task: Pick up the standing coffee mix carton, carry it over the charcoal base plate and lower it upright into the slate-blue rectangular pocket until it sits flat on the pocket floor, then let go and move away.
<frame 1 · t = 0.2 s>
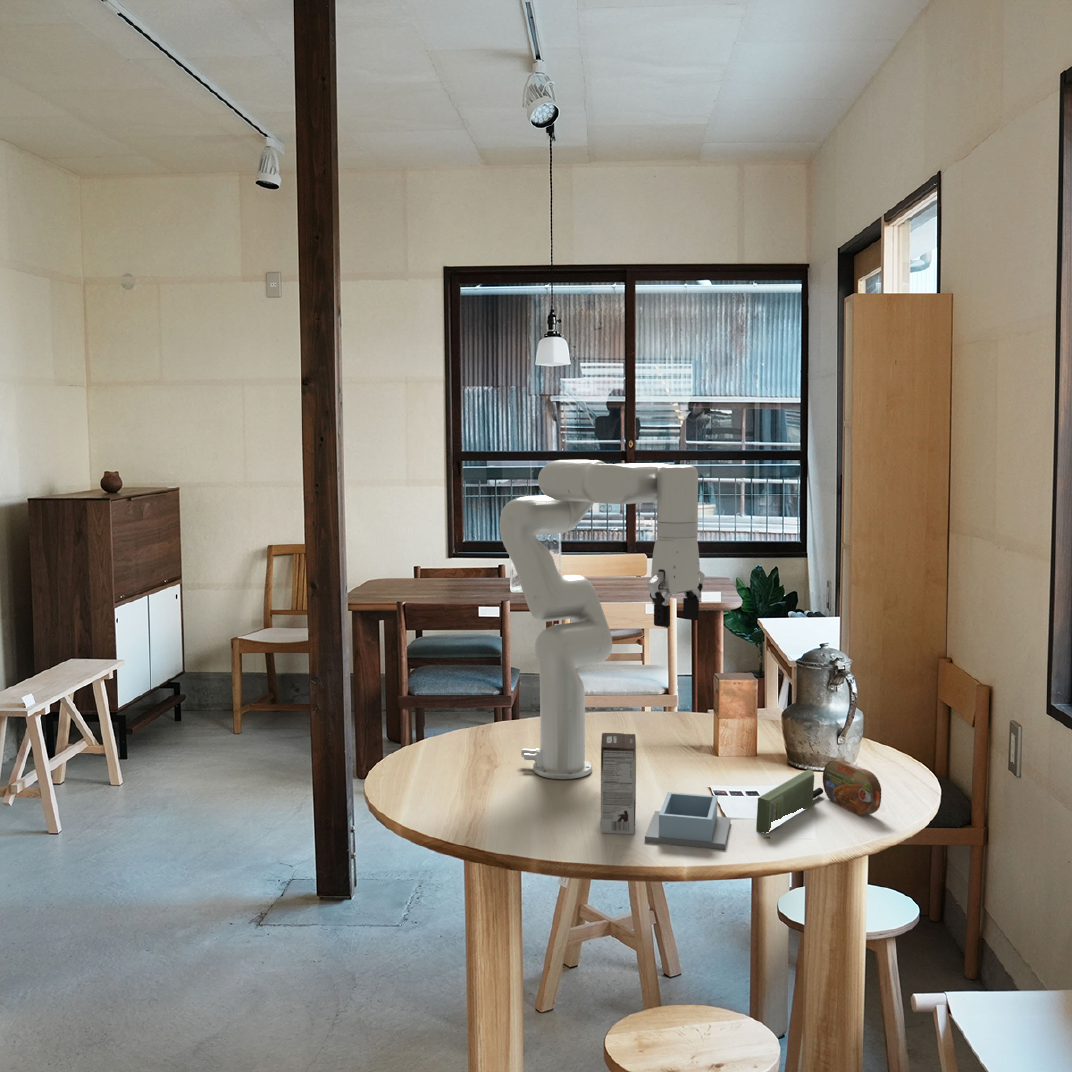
hand: (676, 622, 195), 37 cm above the table, tool pointing down, fingers open, 9 cm apart
coffee box: (618, 825, 193), on the table
tin: (851, 808, 201), on the table
chassis: (688, 832, 189), on the table
handheld radio: (792, 815, 198), on the table
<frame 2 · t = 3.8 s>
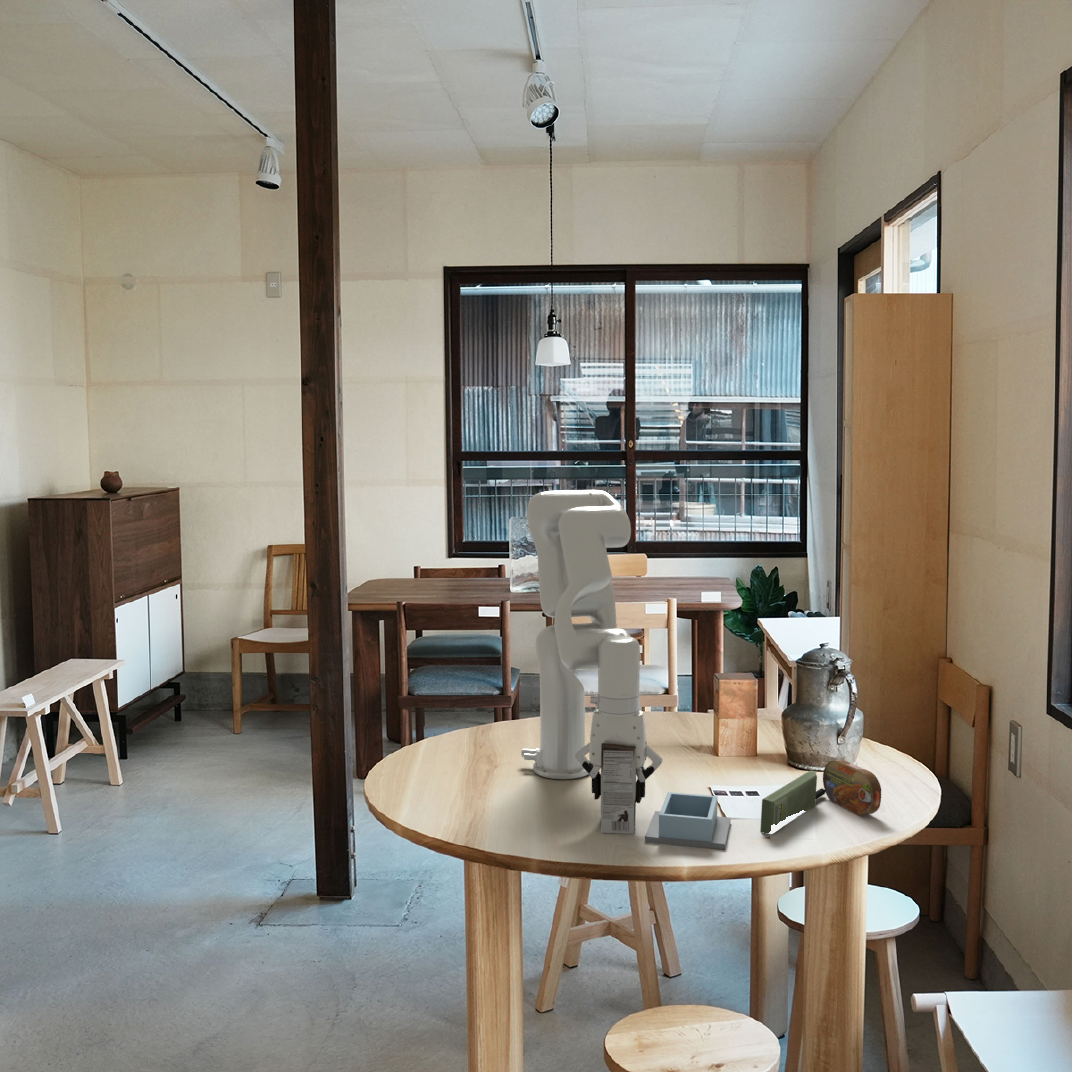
hand: (618, 798, 192), 5 cm above the table, tool pointing down, fingers closed on coffee box, 7 cm apart
coffee box: (618, 825, 193), on the table, touching gripper
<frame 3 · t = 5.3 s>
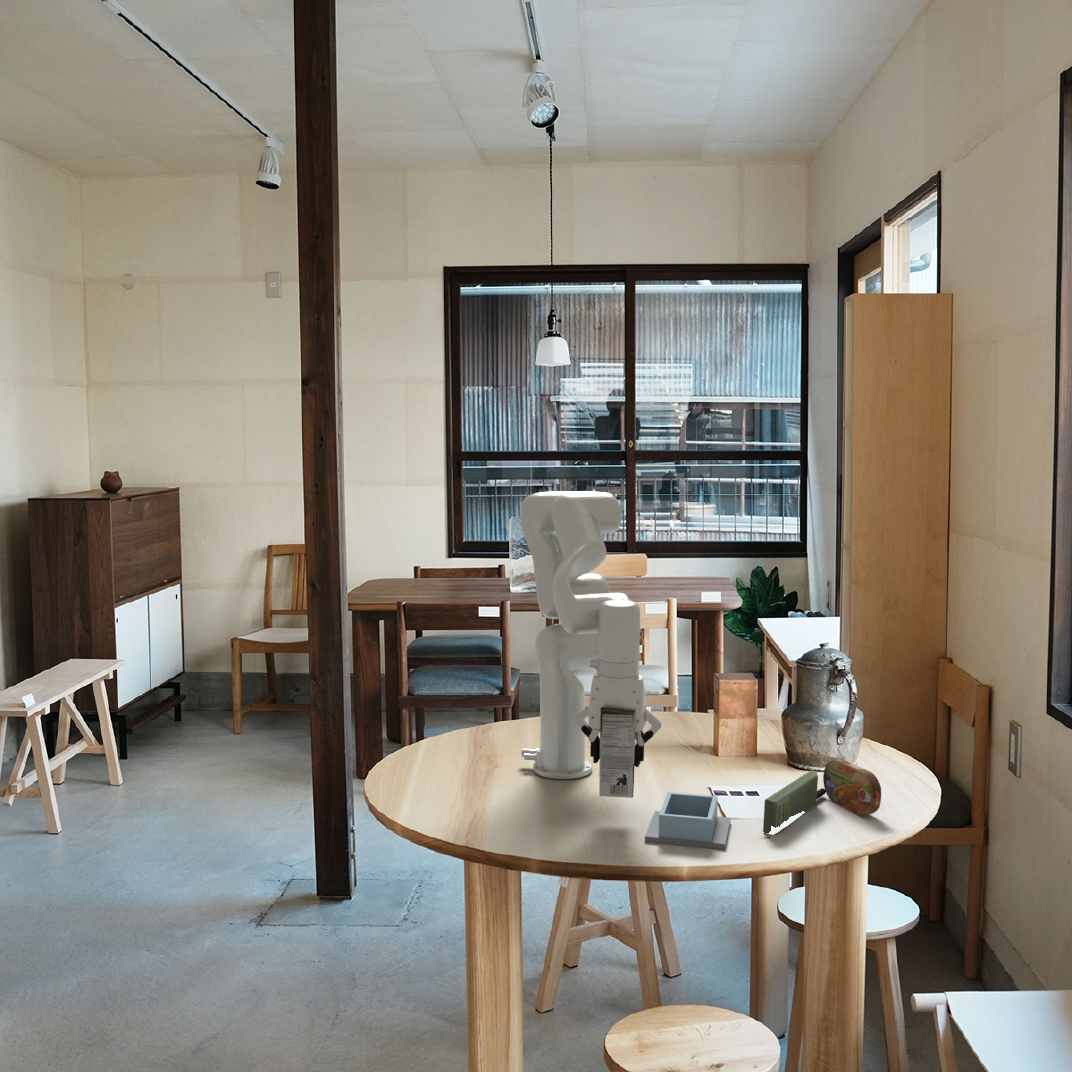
hand: (617, 762, 192), 12 cm above the table, tool pointing down, fingers closed on coffee box, 7 cm apart
coffee box: (616, 789, 193), point 6 cm above the table, touching gripper
when the fingers open (7 cm above the table, at t = 11.0 s): coffee box drops 1 cm, resting on chassis.
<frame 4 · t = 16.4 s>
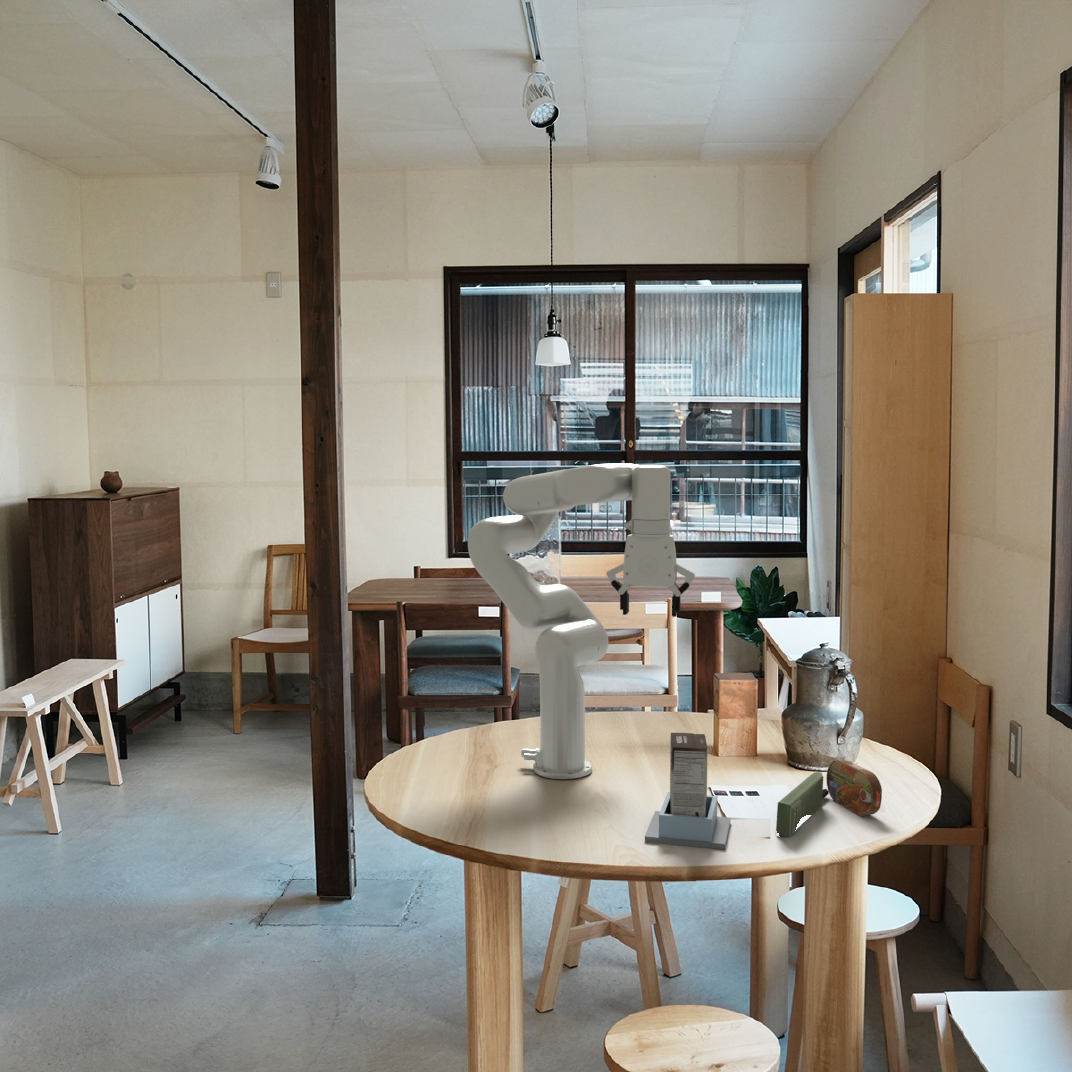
hand: (650, 614, 206), 36 cm above the table, tool pointing down, fingers open, 9 cm apart
coffee box: (687, 827, 189), point 1 cm above the table, touching chassis
handheld radio: (804, 818, 197), on the table
everything else where it was.
at the end: coffee box 0.2 cm off-centre on the chassis, point 0.8 cm above the chassis's base; coffee box tilted 0°; the gripper is holding nothing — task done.
